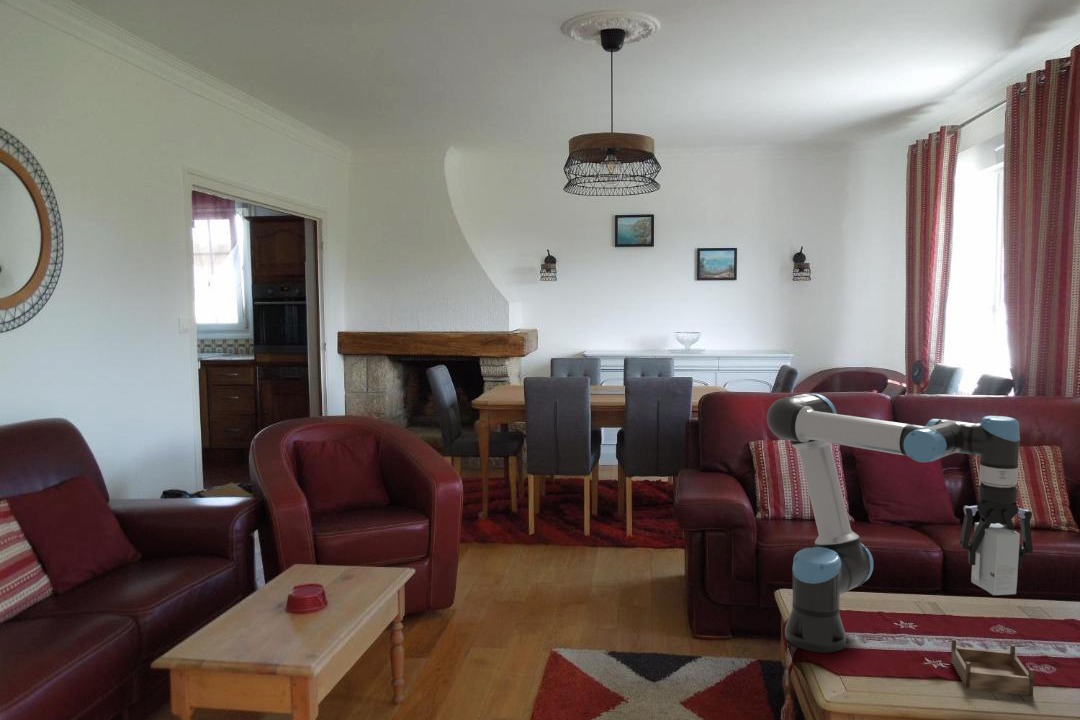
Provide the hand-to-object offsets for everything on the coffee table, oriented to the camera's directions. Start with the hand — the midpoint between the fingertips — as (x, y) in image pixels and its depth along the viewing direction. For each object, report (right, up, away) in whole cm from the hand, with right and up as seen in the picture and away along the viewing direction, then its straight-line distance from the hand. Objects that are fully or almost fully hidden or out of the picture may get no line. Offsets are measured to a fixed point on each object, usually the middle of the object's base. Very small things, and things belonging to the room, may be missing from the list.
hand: (994, 579), depth 172 cm
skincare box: (0, -2, 0) cm, 2 cm away
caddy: (0, -24, +2) cm, 24 cm away
